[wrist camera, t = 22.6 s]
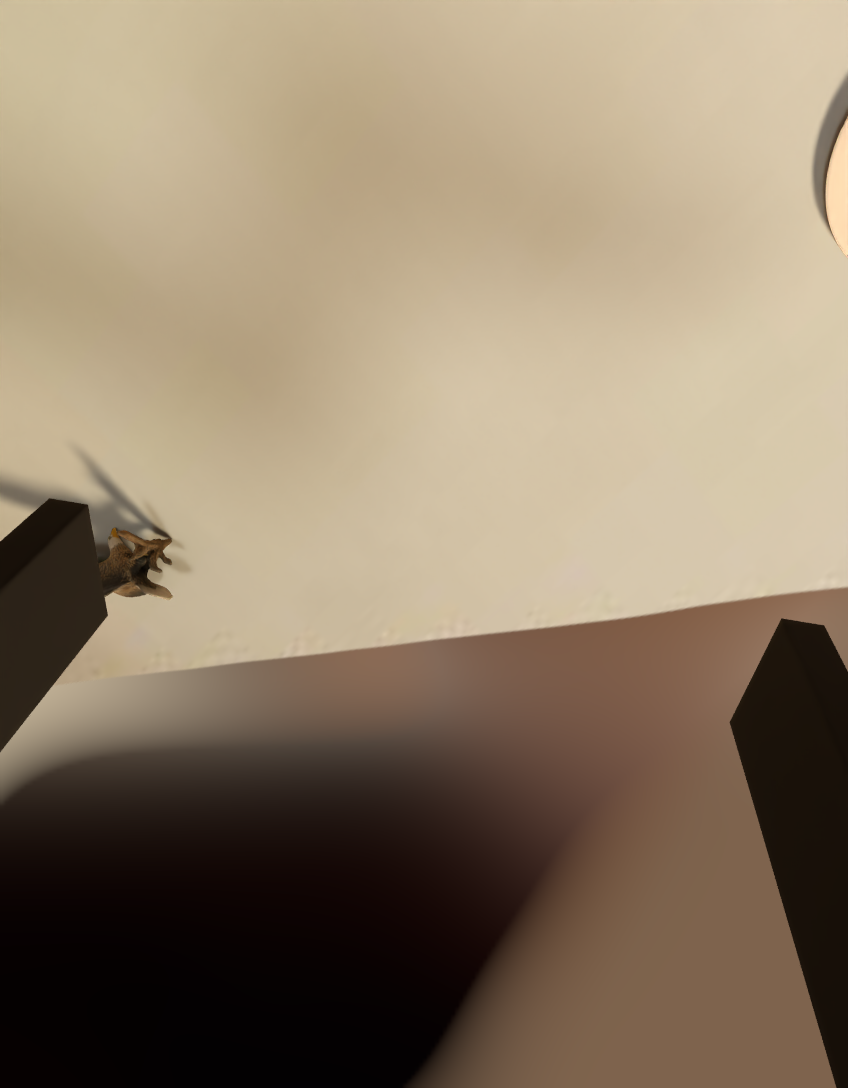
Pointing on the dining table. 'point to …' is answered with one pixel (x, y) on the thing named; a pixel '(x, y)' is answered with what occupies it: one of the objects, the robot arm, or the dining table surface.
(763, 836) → the robot arm
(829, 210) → the candle holder
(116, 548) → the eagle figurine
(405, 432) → the dining table surface
